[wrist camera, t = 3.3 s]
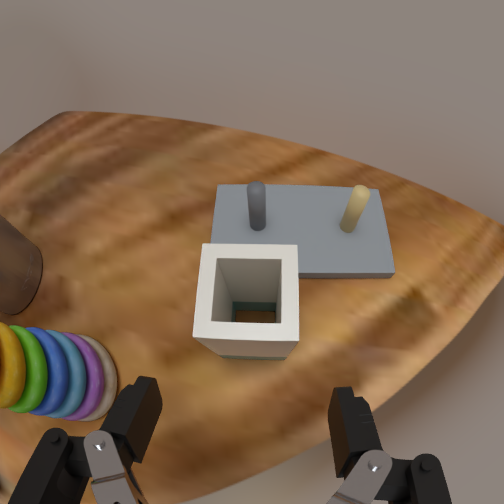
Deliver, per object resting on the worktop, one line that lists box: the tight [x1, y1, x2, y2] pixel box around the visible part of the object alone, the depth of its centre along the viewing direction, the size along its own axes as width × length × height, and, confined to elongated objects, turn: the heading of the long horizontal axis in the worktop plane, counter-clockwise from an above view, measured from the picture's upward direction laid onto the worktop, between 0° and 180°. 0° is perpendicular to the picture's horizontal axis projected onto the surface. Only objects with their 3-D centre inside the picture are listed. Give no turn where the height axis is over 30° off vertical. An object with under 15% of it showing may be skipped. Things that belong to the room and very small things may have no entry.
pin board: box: [210, 181, 395, 278], centre depth 24 cm, size 16×9×6 cm, turn 88°
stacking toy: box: [0, 322, 117, 421], centre depth 12 cm, size 8×8×19 cm
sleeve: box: [193, 244, 299, 360], centre depth 18 cm, size 5×5×10 cm
